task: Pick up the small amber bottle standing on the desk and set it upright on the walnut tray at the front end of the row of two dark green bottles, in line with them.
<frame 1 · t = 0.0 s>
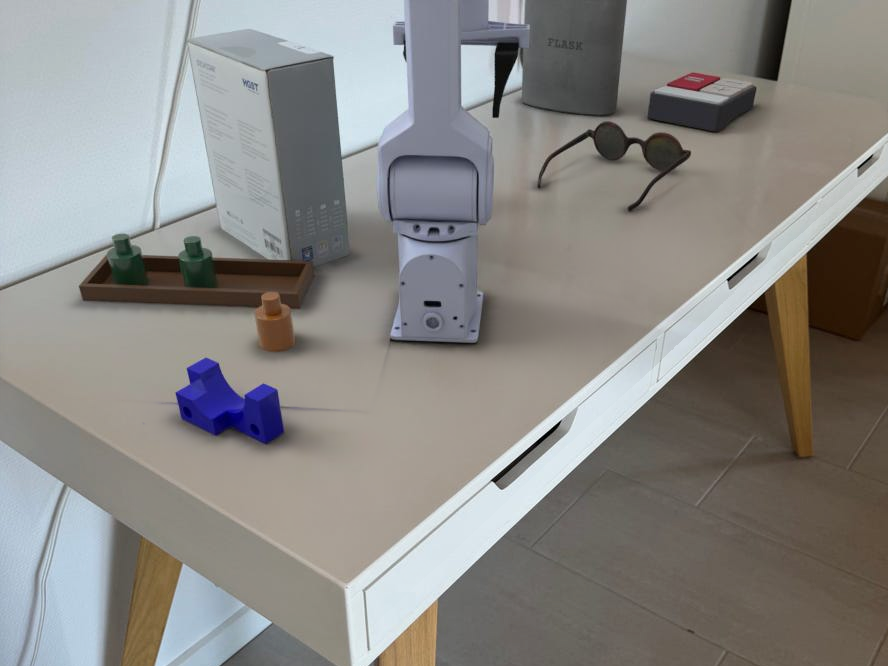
hand: (461, 114, 102), 10 cm above the table, tool pointing down, fingers open, 7 cm apart
hard drive box: (283, 244, 99), on the table
green bottle 2: (201, 286, 90), resting on tray
cable holder: (232, 427, 73), on the table
green bottle 1: (132, 284, 90), resting on tray
calculator: (700, 114, 136), on the table
tray: (202, 290, 90), on the table
flask: (567, 108, 138), on the table
amber bottle: (277, 345, 82), on the table
eyeglasses: (609, 182, 114), on the table
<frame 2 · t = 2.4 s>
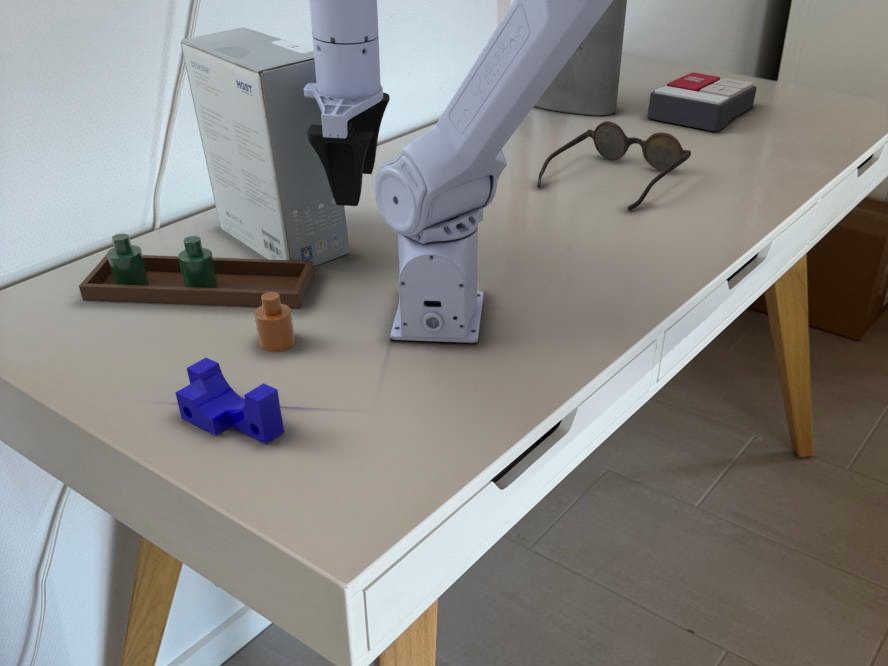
hand: (354, 187, 88), 9 cm above the table, tool pointing down, fingers open, 7 cm apart
hard drive box: (283, 243, 99), on the table, touching gripper
everything else where it was.
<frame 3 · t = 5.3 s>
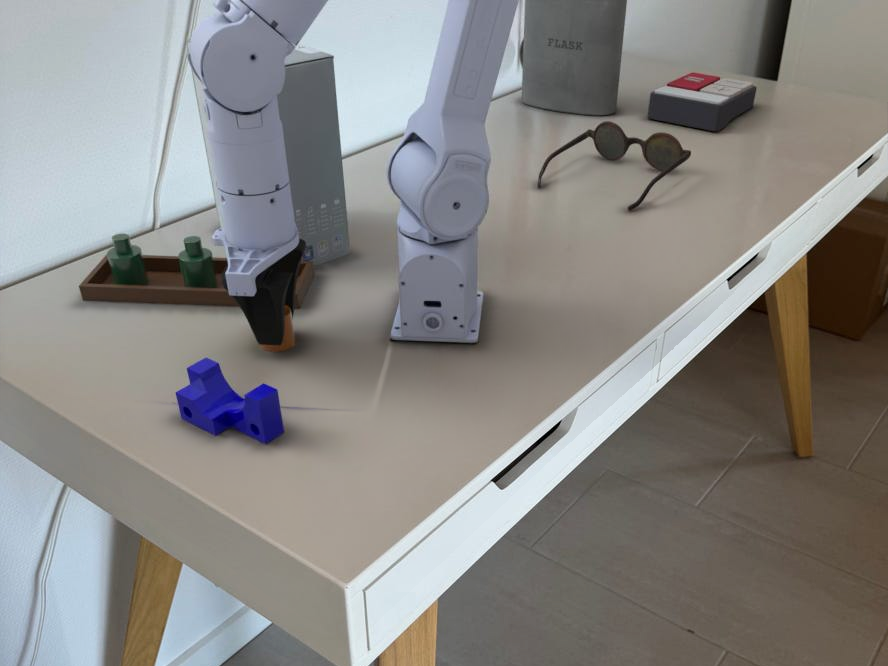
hand: (275, 332, 81), 1 cm above the table, tool pointing down, fingers closed on amber bottle, 3 cm apart
hard drive box: (283, 244, 99), on the table
amber bottle: (277, 346, 82), on the table, touching gripper
everything else where it was.
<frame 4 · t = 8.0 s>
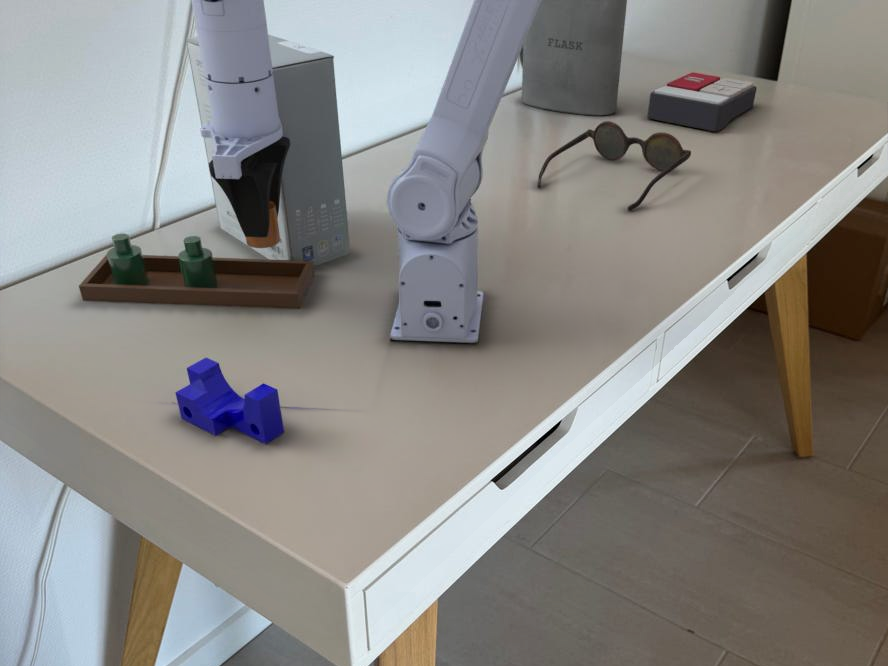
hand: (261, 227, 85), 7 cm above the table, tool pointing down, fingers closed on amber bottle, 3 cm apart
hard drive box: (283, 244, 99), on the table, touching gripper
amber bottle: (263, 241, 86), point 6 cm above the table, touching gripper
everything else where it was.
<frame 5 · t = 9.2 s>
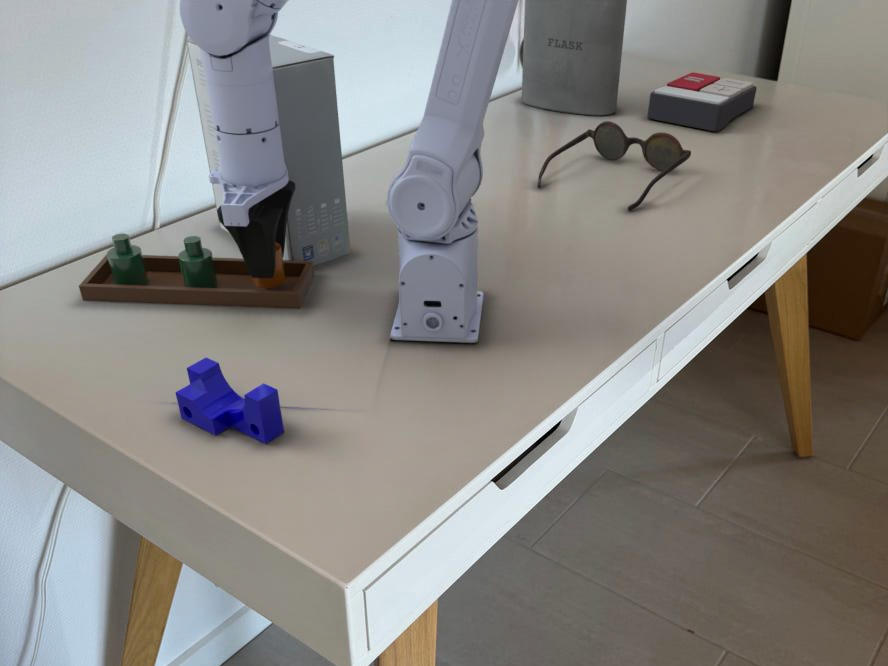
hand: (267, 267, 88), 3 cm above the table, tool pointing down, fingers closed on amber bottle, 3 cm apart
amber bottle: (269, 280, 89), point 1 cm above the table, touching gripper
everything else where it was.
when the fingers open (2 cm above the table, at t = 10.2 s): amber bottle stays where it is, resting on tray.
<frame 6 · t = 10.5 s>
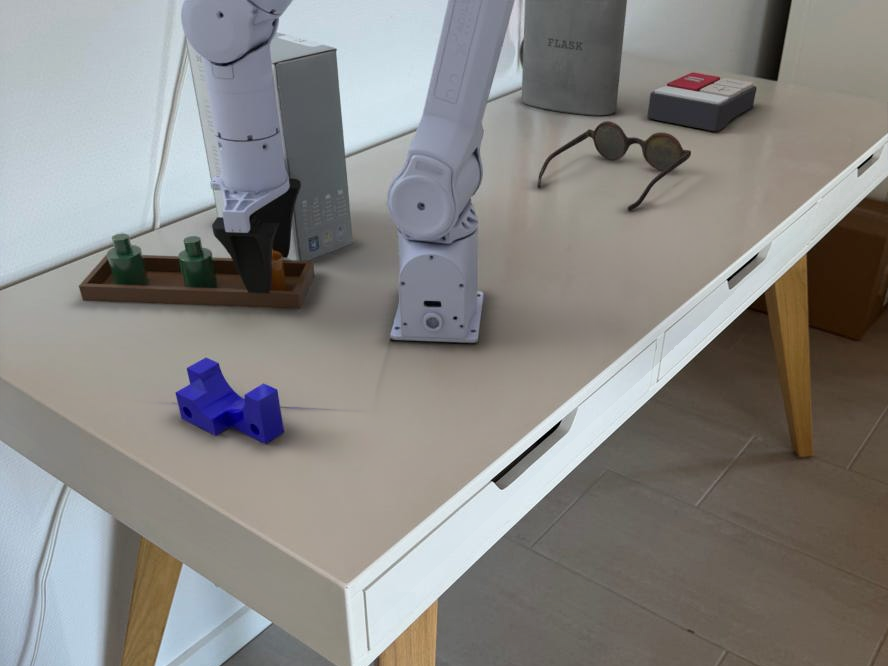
hand: (268, 273, 89), 2 cm above the table, tool pointing down, fingers open, 7 cm apart
hard drive box: (284, 236, 101), on the table
amber bottle: (270, 289, 90), resting on tray
everything else where it was.
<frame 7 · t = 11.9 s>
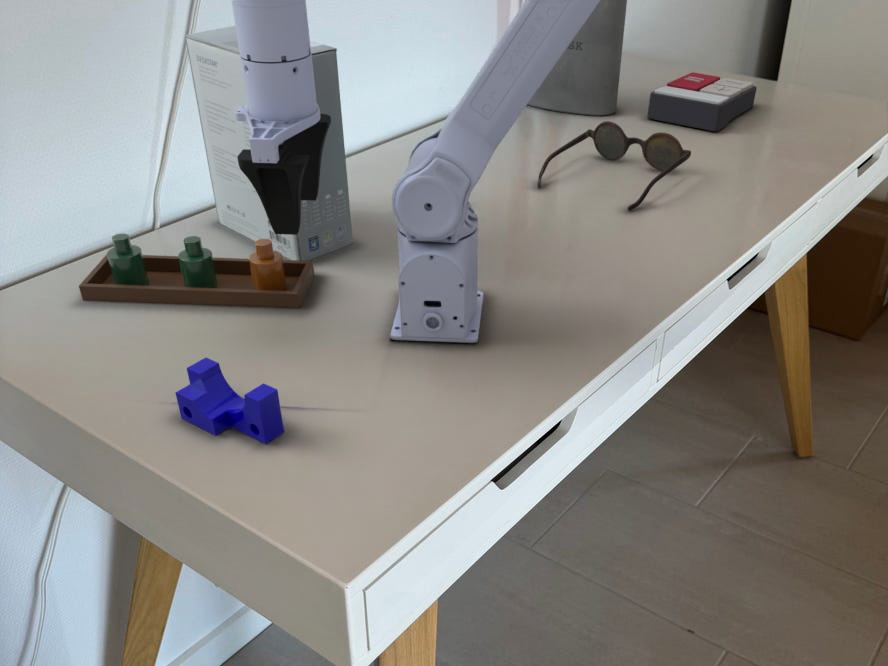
hand: (296, 215, 82), 9 cm above the table, tool pointing down, fingers open, 7 cm apart
nothing on the table moved.
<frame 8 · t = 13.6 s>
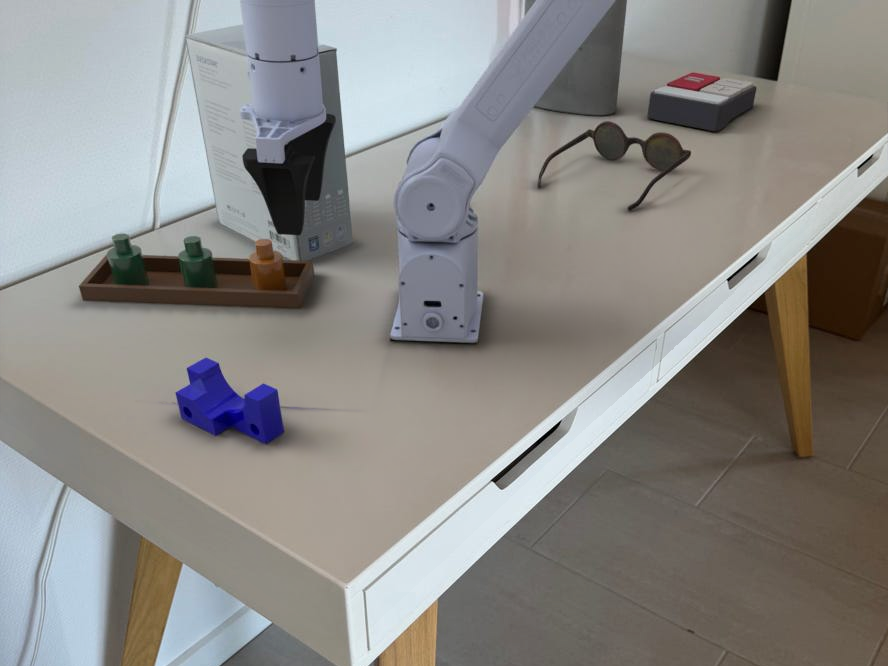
hand: (299, 215, 82), 9 cm above the table, tool pointing down, fingers open, 7 cm apart
nothing on the table moved.
at the end: amber bottle 0.1 cm from the target spot in the tray, point 0.4 cm above the tray's base; amber bottle tilted 0°; green bottle 2 moved 0.0 cm from its start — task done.
